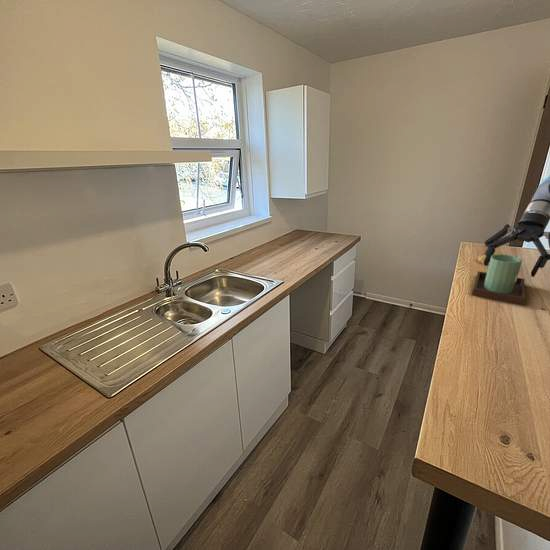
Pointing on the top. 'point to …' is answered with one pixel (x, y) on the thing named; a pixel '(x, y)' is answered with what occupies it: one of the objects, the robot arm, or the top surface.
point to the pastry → (482, 258)
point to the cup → (502, 273)
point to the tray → (513, 297)
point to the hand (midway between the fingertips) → (507, 269)
